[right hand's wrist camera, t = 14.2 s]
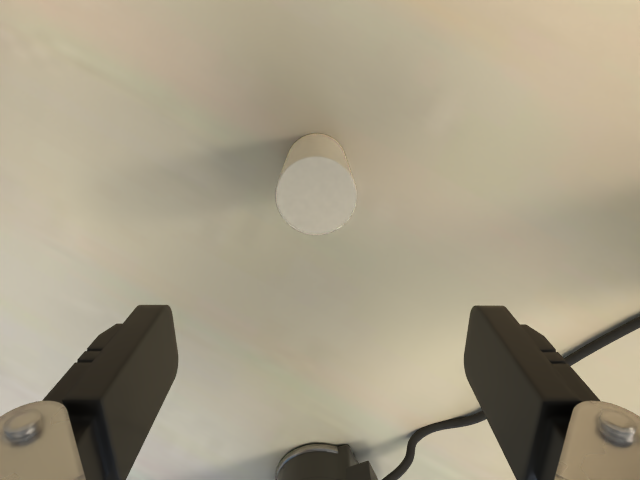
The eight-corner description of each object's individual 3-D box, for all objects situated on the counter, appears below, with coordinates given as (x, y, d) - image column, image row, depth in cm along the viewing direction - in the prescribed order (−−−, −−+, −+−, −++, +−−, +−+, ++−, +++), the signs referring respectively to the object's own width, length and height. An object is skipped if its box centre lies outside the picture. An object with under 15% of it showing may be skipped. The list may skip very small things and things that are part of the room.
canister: (350, 137, 33) (363, 161, 24) (342, 196, 35) (350, 239, 25) (289, 129, 33) (278, 151, 23) (284, 189, 34) (271, 230, 25)
